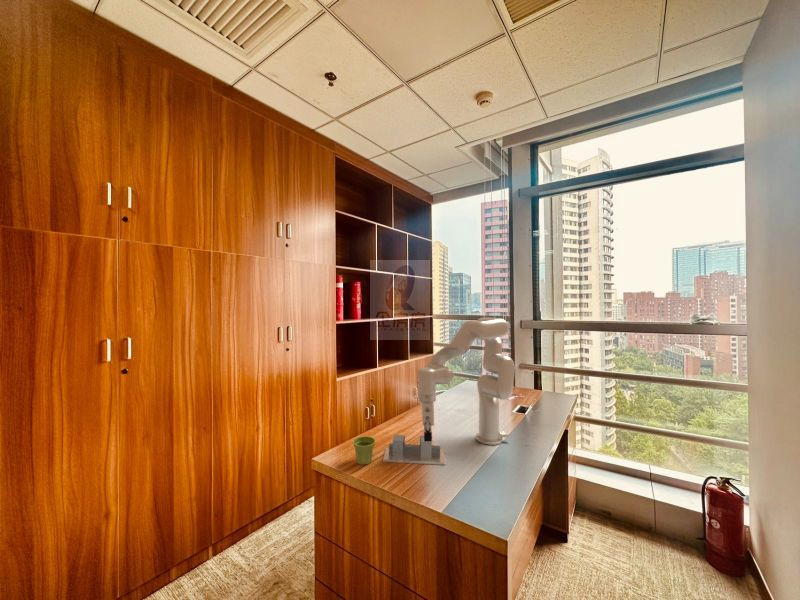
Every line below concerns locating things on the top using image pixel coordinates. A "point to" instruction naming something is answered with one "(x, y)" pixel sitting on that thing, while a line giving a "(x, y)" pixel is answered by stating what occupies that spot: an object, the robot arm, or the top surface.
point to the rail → (411, 453)
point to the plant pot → (364, 449)
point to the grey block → (425, 448)
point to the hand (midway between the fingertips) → (427, 435)
